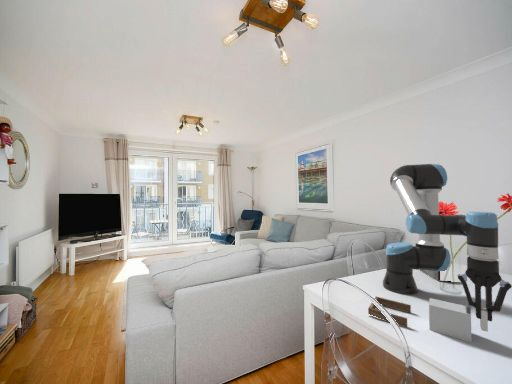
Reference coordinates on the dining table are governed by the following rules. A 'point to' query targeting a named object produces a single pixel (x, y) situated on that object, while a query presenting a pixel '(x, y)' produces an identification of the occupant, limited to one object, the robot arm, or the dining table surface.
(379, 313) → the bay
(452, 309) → the grey box with ridge
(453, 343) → the dining table surface
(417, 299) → the dining table surface
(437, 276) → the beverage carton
